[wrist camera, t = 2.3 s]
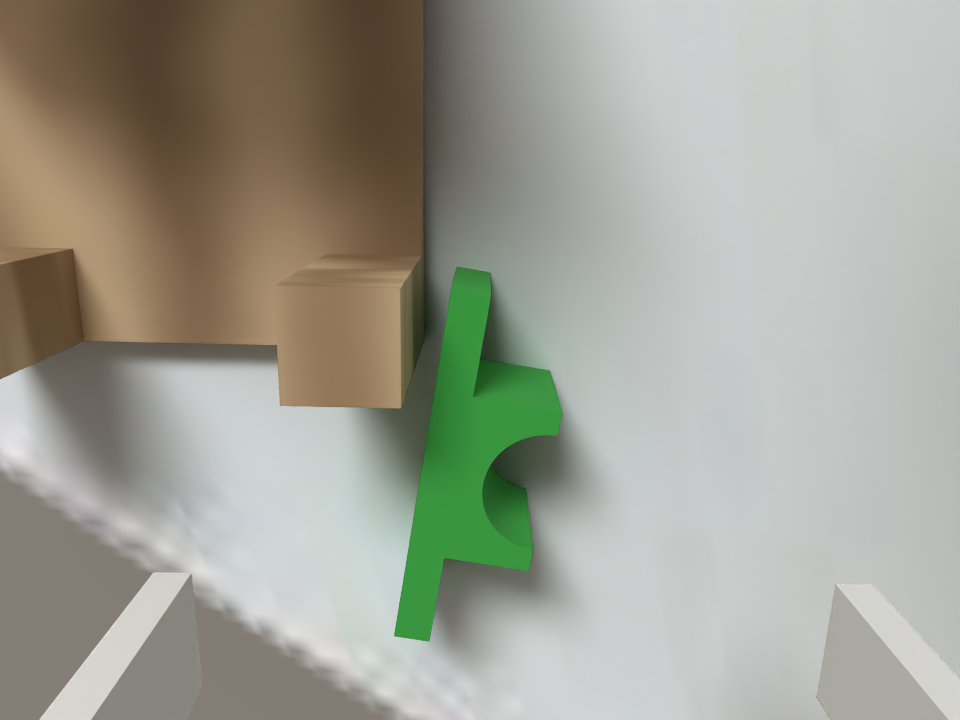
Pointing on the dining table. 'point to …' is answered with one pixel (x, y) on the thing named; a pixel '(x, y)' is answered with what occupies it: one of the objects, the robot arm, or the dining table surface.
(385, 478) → the dining table surface
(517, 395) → the pipe clamp
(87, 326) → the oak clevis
